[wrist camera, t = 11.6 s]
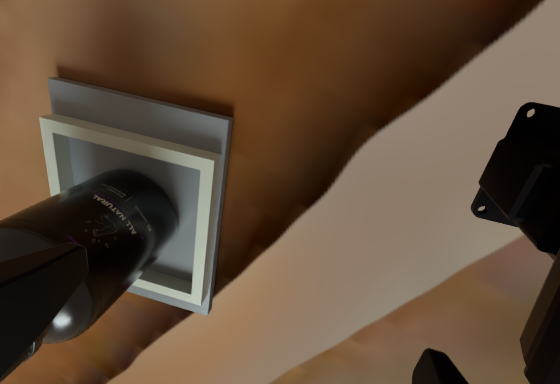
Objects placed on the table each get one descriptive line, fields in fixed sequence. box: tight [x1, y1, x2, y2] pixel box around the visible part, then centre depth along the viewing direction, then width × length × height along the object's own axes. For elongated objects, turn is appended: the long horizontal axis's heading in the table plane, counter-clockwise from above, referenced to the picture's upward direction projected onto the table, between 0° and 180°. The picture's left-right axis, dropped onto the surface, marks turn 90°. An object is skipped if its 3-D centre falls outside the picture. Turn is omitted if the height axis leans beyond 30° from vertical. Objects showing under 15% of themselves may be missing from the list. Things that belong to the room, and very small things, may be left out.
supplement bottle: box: [0, 169, 177, 383], centre depth 18 cm, size 7×7×12 cm
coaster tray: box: [39, 77, 233, 316], centre depth 23 cm, size 12×16×2 cm
